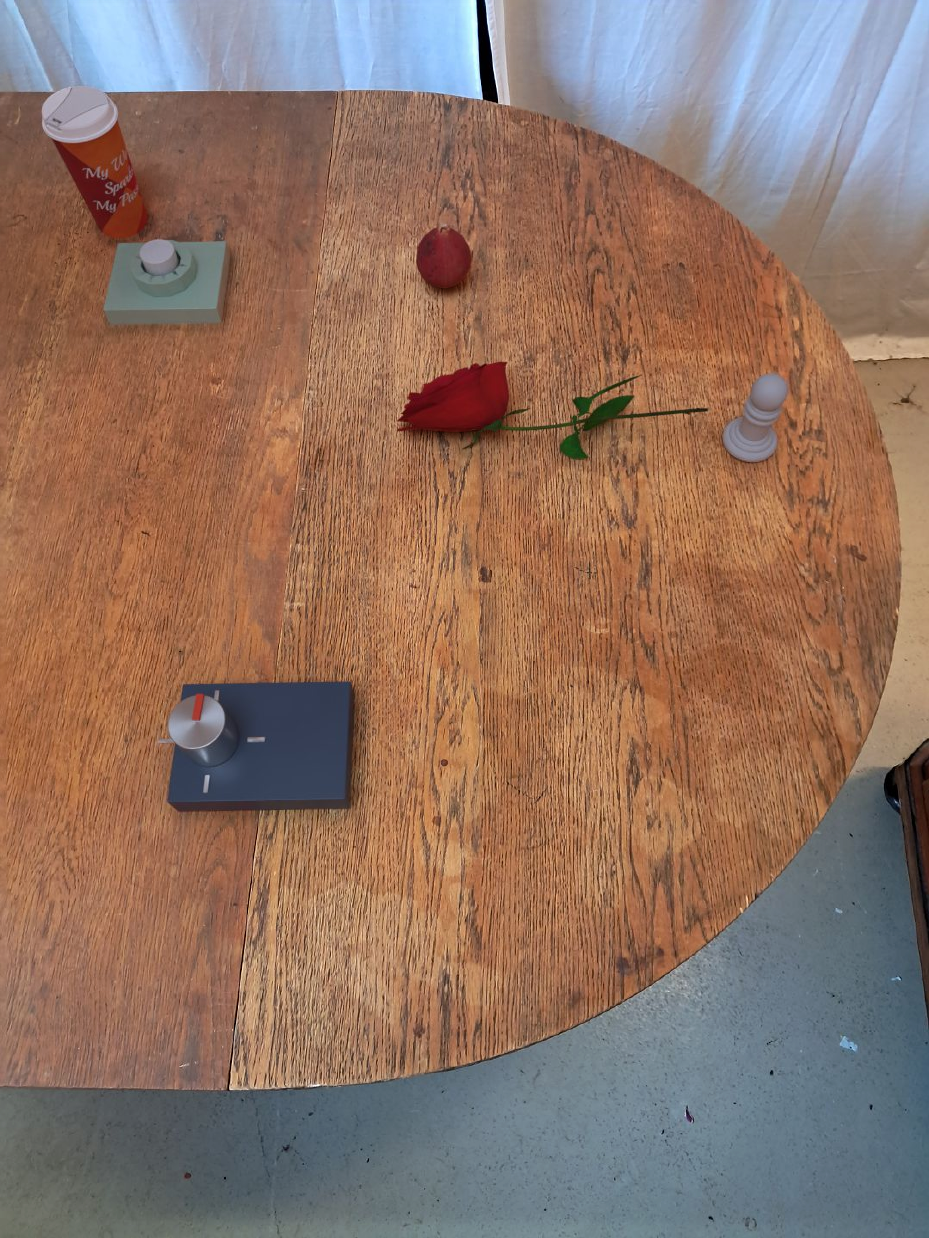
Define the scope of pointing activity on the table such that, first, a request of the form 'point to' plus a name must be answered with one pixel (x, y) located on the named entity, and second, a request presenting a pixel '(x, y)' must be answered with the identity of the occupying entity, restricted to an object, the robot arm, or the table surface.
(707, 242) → the table surface
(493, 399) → the flower
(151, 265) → the white push button
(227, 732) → the dial
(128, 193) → the paper cup
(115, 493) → the table surface
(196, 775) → the dial panel
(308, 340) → the table surface
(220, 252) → the push button box
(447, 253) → the red round fruit
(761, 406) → the chess piece
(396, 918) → the table surface
